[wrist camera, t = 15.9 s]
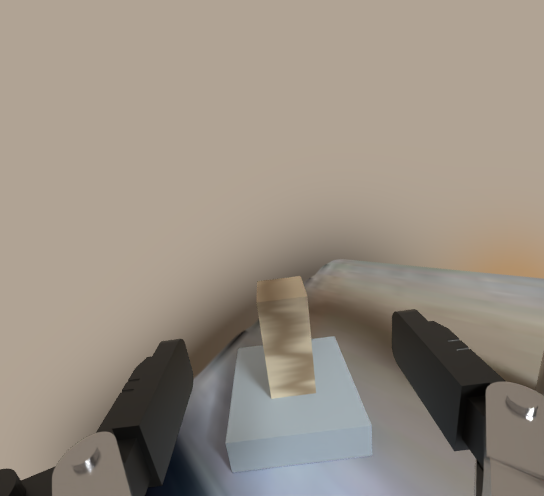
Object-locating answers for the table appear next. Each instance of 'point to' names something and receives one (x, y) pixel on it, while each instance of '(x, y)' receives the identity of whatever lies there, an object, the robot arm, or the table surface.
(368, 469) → the table surface
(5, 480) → the robot arm
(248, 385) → the base
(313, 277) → the table surface
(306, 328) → the beech block
